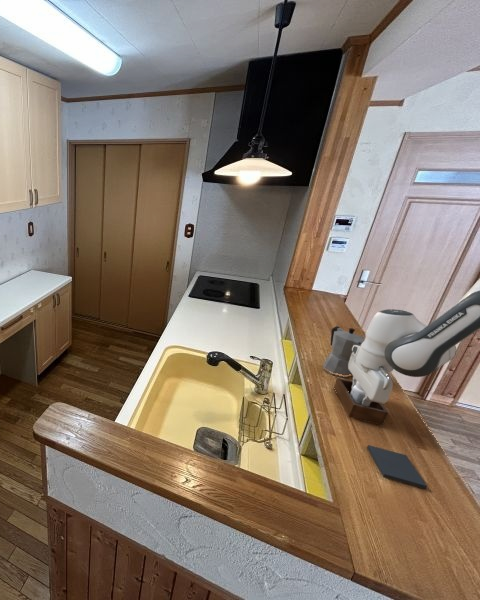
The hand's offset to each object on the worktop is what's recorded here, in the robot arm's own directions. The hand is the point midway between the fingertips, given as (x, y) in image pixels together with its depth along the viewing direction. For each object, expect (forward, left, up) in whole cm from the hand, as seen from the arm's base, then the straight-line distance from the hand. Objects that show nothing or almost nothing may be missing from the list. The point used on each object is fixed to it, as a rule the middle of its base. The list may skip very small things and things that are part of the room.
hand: (359, 397), depth 102 cm
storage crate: (0, 0, -3) cm, 3 cm away
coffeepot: (0, -23, -3) cm, 24 cm away
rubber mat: (0, +26, -3) cm, 26 cm away
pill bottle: (0, 0, -3) cm, 3 cm away
